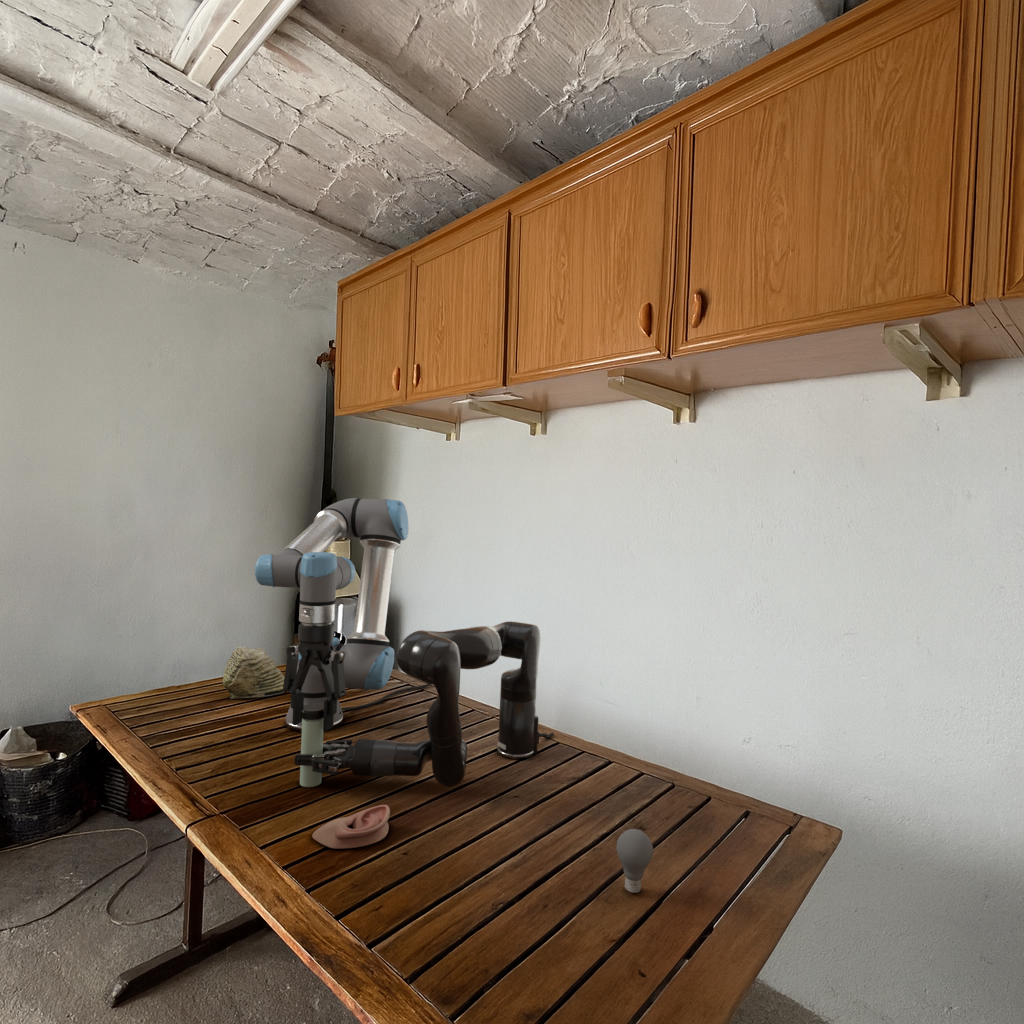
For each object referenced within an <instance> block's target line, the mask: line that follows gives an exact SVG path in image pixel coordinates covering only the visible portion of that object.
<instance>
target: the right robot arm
mask: <svg viewBox="0 0 1024 1024" xmlns="http://www.w3.org/2000/svg"><path fill="white" fill-rule="evenodd" d="M541 648H542V632H541V628H540V626H539V625H537V624H534V623H528V622H521V621H512V620H511V621H510V620H509V621H503V622H500V623H498V624H495V625H492V626H489V625H480V626H479V625H477V626H471V627H465V628H458V629H451V630H446V631H445V630H444V631H436V630H425V629H423V630H421V629H420V630H416V631H414V632H411V633H410V634H408V635H407V636H406V637H405V638H403V640H402V641H401V642H400V645H399V646H398V649H397V651H396V663H397V666H398V667H399V669H400V670H401V671H402V672H403V673H404V674H405V675H406V676H409V677H411V678H413V679H415V680H418V681H420V682H423V683H426V684H431V685H430V686H433V687H435V689H436V692H437V697H436V699H435V700H434V701H433V702H432V703H431V705H430V706H429V708H428V711H427V714H426V728H427V732H428V738H429V739H424V740H422V741H417V742H415V741H413V742H412V741H411V742H410V741H396V740H389V739H370V738H368V739H367V738H358V739H356V741H355V742H354V745H353V739H338V740H337V739H336V740H335V739H334V740H326V741H325V743H323V754H317V755H312V754H301V753H297V754H295V756H294V765H295V766H300V765H302V766H312V771H314V772H319V773H322V774H325V775H331V776H337V775H338V774H339V770H345V769H351V774H352V775H354V776H362V777H364V776H365V777H392V776H397V777H418V776H420V775H421V774H422V772H423V770H424V767H425V766H426V764H427V763H429V762H431V769H432V770H431V771H432V775H433V778H434V779H435V780H436V782H437V783H438V784H439V785H441V786H443V787H447V788H453V787H455V786H458V785H459V784H461V783H462V781H463V780H464V778H465V776H466V770H467V759H468V745H467V743H466V742H465V740H464V739H463V730H462V722H461V718H460V709H459V708H460V689H461V670H478V669H482V668H486V667H489V666H491V665H493V664H495V663H496V662H497V661H498V660H499V658H500V657H504V658H507V659H516V660H521V662H520V666H519V667H518V668H512V669H508V670H506V671H504V672H502V674H501V675H500V693H499V716H498V736H497V737H498V738H497V743H496V744H497V753H498V754H499V755H500V756H502V757H504V758H507V759H513V760H523V759H527V758H530V757H532V756H534V755H537V754H538V745H540V738H544V739H546V740H548V739H550V738H552V737H554V736H555V732H553V731H552V732H550V733H548V734H547V733H546V732H540V731H539V716H538V715H536V711H537V710H536V709H537V691H538V689H537V687H538V676H539V671H540V659H541ZM320 758H322V759H320ZM319 767H322V768H319Z"/></svg>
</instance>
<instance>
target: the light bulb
mask: <svg viewBox="0 0 1024 1024" xmlns="http://www.w3.org/2000/svg"><path fill="white" fill-rule="evenodd" d="M615 849H616V854H617V857H618V859H619V861H620V863H621V865H622V867H623V873H624V874H623V875H624V876H625V878H624V888H625V890H627V891H628V892H630V893H634V894H635V893H639V892H640V891H641V889H642V887H641V886H642V879H643V877H644V875H645V871H646V868H647V867H648V866H649V864H650V863H651V861H652V859H653V855H654V847H653V843H652V841H651V838H649V836H648V835H647V834H646V833H645V832H643V831H642V830H641V829H636V828H629V829H627V830H625V831H623V832H622V833H621V834H620V835H619V837H618V839H617V841H616V847H615Z"/></svg>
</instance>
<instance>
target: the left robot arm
mask: <svg viewBox="0 0 1024 1024" xmlns="http://www.w3.org/2000/svg"><path fill="white" fill-rule="evenodd" d="M408 535H409V517H408V511H407V507H406V505H405V504H404V502H403V501H401V500H397V499H390V498H364V497H363V498H360V497H351V498H346V499H341V500H338V501H337V502H334V503H332V504H329V505H328V506H326V507H325V508H324V509H322V510H321V511H319V512H318V513H317V514H316V516H315V517H314V519H313V522H312V523H311V524H310V525H309V526H308V527H307V528H305V529H304V530H303V531H302V532H301V533H300V534H298V535H297V537H295V538H294V539H293V540H292V541H290V542H289V543H288V545H286V546H285V547H284V548H282V550H281V551H279V552H278V553H276V554H273V553H269V554H268V553H267V554H261V555H260V556H259V557H258V559H257V560H256V562H255V567H254V576H255V580H256V582H257V583H258V584H259V585H260V586H266V587H272V588H293V589H296V588H297V589H299V611H298V612H299V614H298V615H299V616H298V621H299V622H300V623H299V624H298V634H297V639H298V641H299V643H298V644H294V645H290V646H288V647H286V648H285V649H286V656H287V658H286V665H285V672H284V684H283V690H284V692H285V691H286V692H288V693H289V694H290V704H289V708H288V711H287V713H286V715H285V726H286V728H287V729H289V730H291V731H294V732H295V731H296V732H301V733H302V718H301V707H302V706H304V705H308V704H323V705H324V718H323V732H327V731H329V730H332V729H335V728H337V727H339V726H340V725H342V723H343V722H344V714H343V711H351V710H352V711H353V710H357V709H358V710H359V709H364V708H367V707H370V706H371V707H372V706H374V705H377V704H379V703H381V702H383V701H384V700H385V699H387V698H389V697H392V696H394V695H396V694H399V693H403V692H407V691H411V690H418V689H423V688H428V687H429V686H432V685H431V684H428V683H426V684H423V685H417V686H416V685H415V686H411V687H404V688H402V689H398V690H394V691H392V692H390V693H388V694H385V695H383V696H382V697H381V698H379V699H377V700H375V701H372V702H368V703H364V704H361V705H355V706H346V707H345V706H344V707H342V706H341V702H340V699H342V698H343V697H346V695H347V690H346V689H354V690H365V691H370V690H371V691H372V690H375V691H376V690H377V691H378V690H382V689H383V688H384V687H385V686H386V685H387V684H388V682H389V680H390V677H391V675H392V672H393V668H394V663H395V649H394V648H393V647H391V646H390V640H389V639H388V637H387V636H386V625H387V617H388V611H389V610H388V609H389V601H390V592H391V584H392V583H391V582H392V573H393V565H394V557H395V552H396V551H397V550H398V549H399V548H401V541H405V540H407V539H408ZM343 538H359V544H360V545H361V546H362V547H363V556H362V563H361V572H360V580H359V588H358V597H357V602H356V603H357V605H356V610H355V619H354V627H353V631H352V633H351V634H350V635H348V636H347V638H346V643H345V644H341V641H340V639H339V638H338V637H335V624H334V621H335V620H336V619H335V618H336V592H337V591H339V590H342V589H345V588H346V587H348V586H349V585H350V584H352V583H353V581H354V579H355V578H356V577H355V576H356V567H355V565H354V563H353V561H352V560H351V559H350V558H348V557H345V556H337V555H336V554H335V553H333V552H326V551H327V549H328V548H329V547H331V545H332V544H333V543H334V542H338V541H340V540H342V539H343Z"/></svg>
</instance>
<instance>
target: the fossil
mask: <svg viewBox="0 0 1024 1024" xmlns="http://www.w3.org/2000/svg"><path fill="white" fill-rule="evenodd" d="M222 676H223V677H222V685H223V687H224V688H225V690H226V691H228V693H229V698H230V699H250V698H264V697H271V696H275V695H281V694H284V693H285V691H284V690H283V684H284V677H285V675H284V674H283V673H282V672H281V669H279V668H278V667H277V665H276V663H275V662H274V660H273V659H272V658H271V657H270V656H269V655H268V654H267V653H266V652H265V650H264V649H263V648H260V647H258V648H251V647H247V646H246V647H245V646H238V647H237V648H236V649H235V650H233V651H232V653H231V656H230V657H229V659H228V660H227V663H226V666H225V668H224V671H223V675H222Z"/></svg>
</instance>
